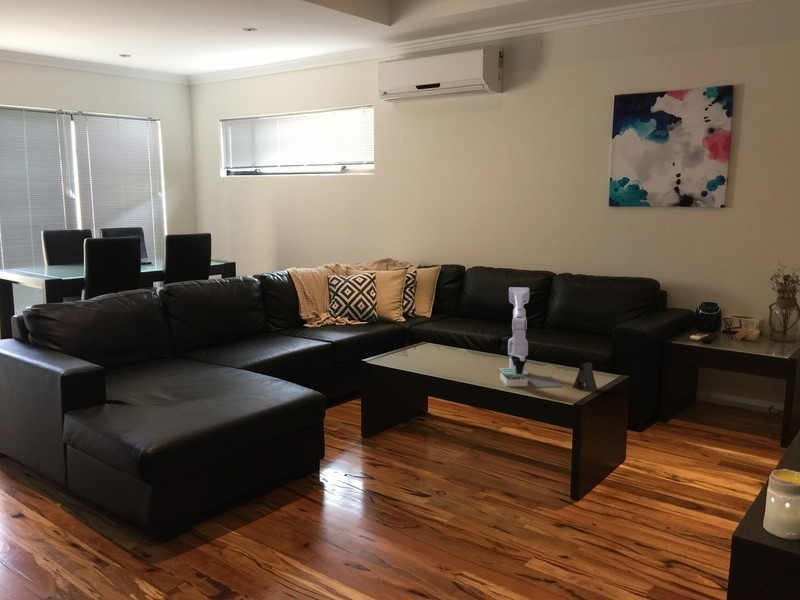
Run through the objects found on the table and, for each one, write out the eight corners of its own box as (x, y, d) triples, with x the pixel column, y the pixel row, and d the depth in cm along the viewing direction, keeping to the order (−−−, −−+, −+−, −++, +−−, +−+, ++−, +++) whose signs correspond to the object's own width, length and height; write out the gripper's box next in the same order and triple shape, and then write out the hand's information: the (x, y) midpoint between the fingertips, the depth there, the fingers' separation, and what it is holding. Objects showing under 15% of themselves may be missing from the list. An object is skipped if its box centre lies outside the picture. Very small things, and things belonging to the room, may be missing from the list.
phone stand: (572, 388, 311) (573, 362, 309) (580, 385, 315) (581, 360, 313) (589, 392, 304) (590, 366, 302) (597, 389, 308) (598, 364, 306)
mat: (525, 377, 329) (525, 377, 329) (551, 377, 330) (551, 376, 330) (535, 387, 312) (535, 387, 312) (563, 386, 313) (563, 386, 313)
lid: (499, 369, 326) (499, 360, 326) (521, 368, 327) (521, 360, 326) (507, 376, 309) (507, 367, 309) (530, 375, 310) (530, 366, 309)
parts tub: (500, 379, 326) (500, 372, 326) (520, 378, 327) (520, 372, 327) (506, 386, 314) (506, 379, 313) (527, 386, 314) (527, 379, 314)
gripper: (506, 340, 316) (506, 368, 318) (514, 347, 302) (513, 376, 304) (521, 340, 316) (520, 368, 318) (529, 347, 302) (528, 376, 304)
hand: (518, 372), depth 311 cm, fingers closed on lid, 3 cm apart
